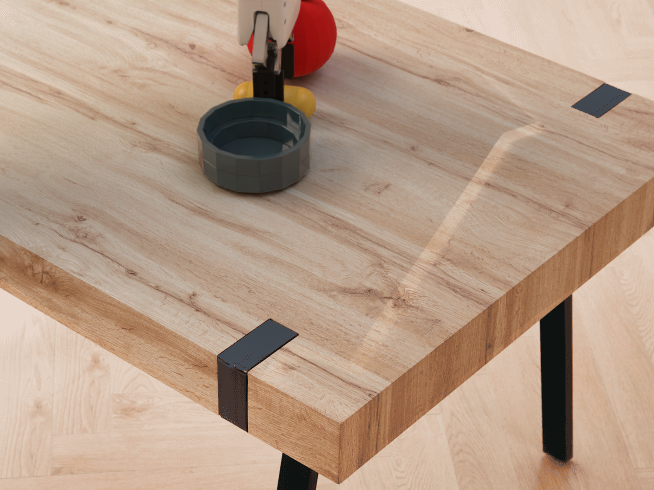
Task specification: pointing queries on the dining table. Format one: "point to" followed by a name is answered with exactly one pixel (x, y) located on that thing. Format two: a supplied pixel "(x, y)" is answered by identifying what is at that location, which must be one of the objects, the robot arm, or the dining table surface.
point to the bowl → (254, 144)
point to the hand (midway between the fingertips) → (274, 88)
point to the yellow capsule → (291, 95)
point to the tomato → (311, 37)
